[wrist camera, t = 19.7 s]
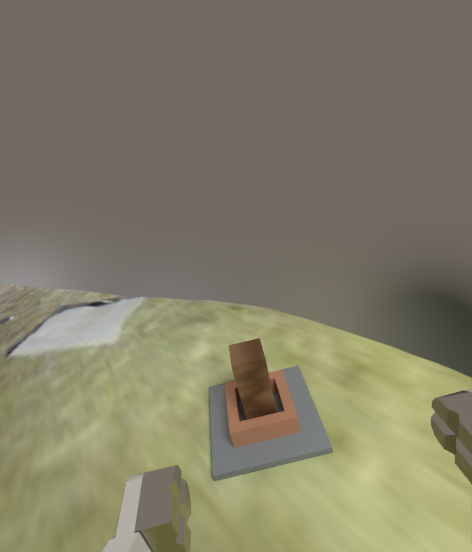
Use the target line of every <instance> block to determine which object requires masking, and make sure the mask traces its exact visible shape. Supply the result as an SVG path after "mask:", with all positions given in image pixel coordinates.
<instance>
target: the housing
mask: <svg viewBox="0 0 472 552" xmlns="http://www.w3.org/2000/svg"><path fill="white" fill-rule="evenodd" d="M269 378H270V382H271V387H272V391H273V396H274V400H275V405H276V409H277V413H274V414H270V415H265V416H261V417H257V418H253V419H249V420H247V419H246V416H245V412H244V408H243V405H242V401H241V398H240V394H239V391H238V387H237V384H236V381H232V382H228V383H224V384H220V385H216V386H212V387H209V395H210V421H211V448H212V474H213V479H214V481H216V480H220V479H225V478H229V477H233V476H237V475H241V474H245V473H249V472H253V471H258V470H262V469H266V468H270V467H274V466H278V465H282V464H287V463H291V462H295V461H299V460H303V459H307V458H311V457H315V456H320V455H324V454H328V453H332V452H333V450H332V446H331V443H330V441H329V439H328V436H327V434H326V431H325V429H324V427H323V424H322V422H321V419H320V417H319V415H318V412H317V410H316V407H315V405H314V403H313V400H312V398H311V395H310V393H309V390H308V388H307V386H306V383H305V381H304V378H303V376H302V374H301V371H300V369H299V366H295V367H291V368H286V369H282V370H278V371H274V372H270V373H269Z"/></svg>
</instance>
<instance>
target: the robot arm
mask: <svg viewBox="0 0 472 552" xmlns="http://www.w3.org/2000/svg"><path fill="white" fill-rule="evenodd" d="M432 408H433V409H434V411H435V413H434V414H433V416H432V417H431V426H432V429H433V432H434V435H435V436H436V438H437V440H438V442H439V443H440V444H441V446H442V447H443V448H444V449H445V450H447V451H449V452H451V453H452V454H454V456H455V464H456V465H457V466H458V467H459V469H460V470H461V471H462V473H463V474H464V475H465V476H466V478H467V479H468V480H469V481H470V483H471V484H472V389H469V390H466V391H464V390H463V391H460V392H456V393H452V394H449V395H445V396H442V397H438V398H434V400H433V401H432ZM190 515H191V500H190V492H189V488H188V485H187V483H186V480H183V479H181V470H180V468H179V466H178V465H175V466H171V467H167V468H163V469H158V470H154V471H150V472H145V473H141V474H137V475H133V476H129V477H128V479H127V481H126V484H125V489H124V494H123V499H122V504H121V509H120V514H119V519H118V524H117V529H116V534H115V538H112V539H110V540H109V541H108V543H107V544H106V546H105V547H104V549H103V550H102V552H190V543H191V531H190V529H189V527H188V525H187V523H186V522H187V521H188V519H189V517H190Z"/></svg>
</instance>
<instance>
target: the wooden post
mask: <svg viewBox="0 0 472 552" xmlns="http://www.w3.org/2000/svg"><path fill="white" fill-rule="evenodd" d="M229 351H230V358H231V366H232V370H233V373H234V377H235V380H236V384H237V387H238V391H239V394H240V398H241V401H242V405H243V408H244V412H245V416H246V419H247V420H249V419H253V418H257V417H261V416H265V415H270V414H274V413H277V409H276V405H275V400H274V396H273V391H272V387H271V382H270V378H269V373H268V369H267V364H266V360H265V356H264V352H263V349H262V345H261V342H260V338H258V339H254V340H250V341H246V342H242V343H238V344H233V345H229Z"/></svg>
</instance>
